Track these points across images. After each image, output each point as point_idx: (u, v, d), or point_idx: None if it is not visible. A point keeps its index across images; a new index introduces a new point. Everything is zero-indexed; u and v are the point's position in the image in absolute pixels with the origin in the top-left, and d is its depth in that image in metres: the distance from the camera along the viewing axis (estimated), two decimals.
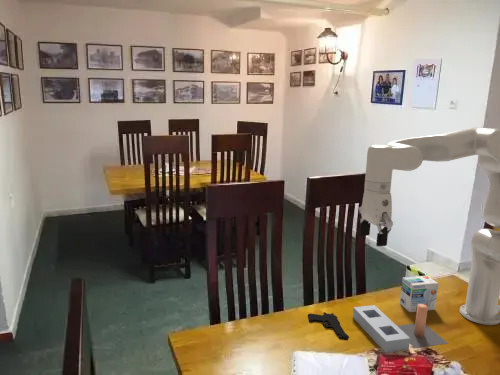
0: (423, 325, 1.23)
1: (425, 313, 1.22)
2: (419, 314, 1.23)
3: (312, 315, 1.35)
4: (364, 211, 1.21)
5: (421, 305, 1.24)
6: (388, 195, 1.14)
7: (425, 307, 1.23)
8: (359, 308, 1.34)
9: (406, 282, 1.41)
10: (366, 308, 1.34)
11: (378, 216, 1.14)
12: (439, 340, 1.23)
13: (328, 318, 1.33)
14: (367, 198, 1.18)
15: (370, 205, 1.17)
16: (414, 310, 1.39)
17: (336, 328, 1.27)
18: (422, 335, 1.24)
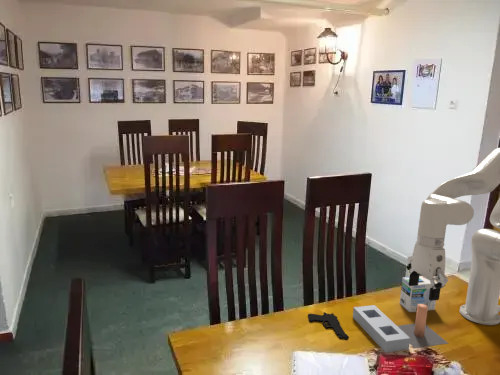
0: (423, 325, 1.23)
1: (425, 313, 1.22)
2: (419, 314, 1.23)
3: (312, 315, 1.35)
4: (415, 263, 1.22)
5: (421, 305, 1.24)
6: (442, 251, 1.15)
7: (425, 307, 1.23)
8: (359, 308, 1.34)
9: (406, 282, 1.41)
10: (366, 308, 1.34)
11: (432, 271, 1.15)
12: (439, 340, 1.23)
13: (328, 318, 1.33)
14: (419, 251, 1.20)
15: (423, 259, 1.18)
16: (414, 310, 1.39)
17: (336, 328, 1.27)
18: (422, 335, 1.24)
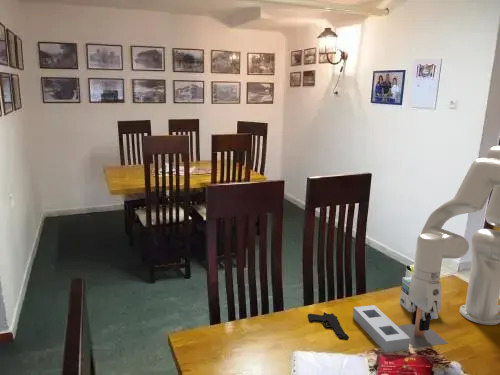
0: None
1: None
2: (419, 314, 1.23)
3: (312, 315, 1.35)
4: (412, 295, 1.25)
5: None
6: (438, 285, 1.17)
7: None
8: (359, 308, 1.34)
9: (406, 282, 1.41)
10: (366, 308, 1.34)
11: (428, 305, 1.18)
12: (439, 340, 1.23)
13: (328, 318, 1.33)
14: (416, 284, 1.22)
15: (419, 292, 1.21)
16: None
17: (336, 328, 1.27)
18: (422, 335, 1.24)
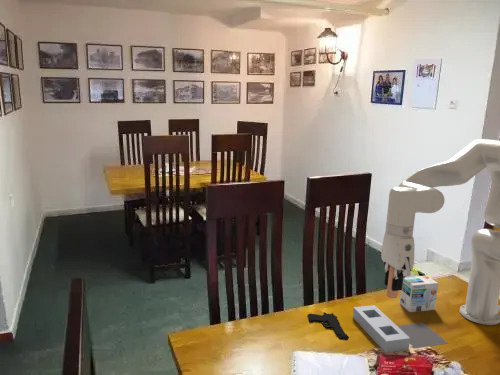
0: None
1: (398, 272, 1.15)
2: (391, 273, 1.16)
3: (312, 315, 1.35)
4: (385, 253, 1.17)
5: None
6: (411, 240, 1.10)
7: None
8: (359, 308, 1.34)
9: (406, 282, 1.41)
10: (366, 308, 1.34)
11: (400, 261, 1.11)
12: (439, 340, 1.23)
13: (328, 318, 1.33)
14: (388, 241, 1.15)
15: (392, 249, 1.14)
16: (414, 310, 1.39)
17: (336, 328, 1.27)
18: (395, 296, 1.17)
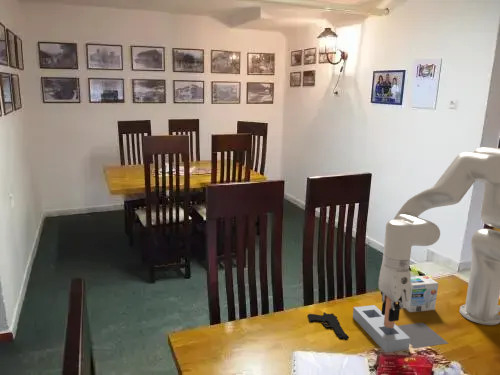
0: None
1: None
2: (388, 304, 1.18)
3: (312, 315, 1.35)
4: (382, 284, 1.20)
5: None
6: (407, 272, 1.12)
7: None
8: (359, 308, 1.34)
9: None
10: (366, 308, 1.34)
11: (397, 293, 1.13)
12: (439, 340, 1.23)
13: (328, 319, 1.33)
14: (385, 272, 1.17)
15: (388, 280, 1.16)
16: (414, 310, 1.39)
17: (336, 328, 1.27)
18: (392, 326, 1.19)
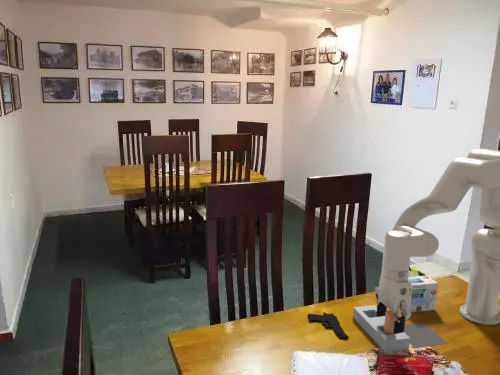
0: (391, 332, 1.20)
1: (393, 320, 1.19)
2: (387, 321, 1.19)
3: (312, 315, 1.35)
4: (381, 294, 1.20)
5: (389, 312, 1.20)
6: (406, 283, 1.13)
7: (393, 314, 1.19)
8: (359, 308, 1.34)
9: None
10: (366, 308, 1.34)
11: (396, 304, 1.14)
12: (439, 340, 1.23)
13: (328, 318, 1.33)
14: (384, 283, 1.18)
15: (387, 291, 1.16)
16: (414, 310, 1.39)
17: (336, 328, 1.27)
18: None
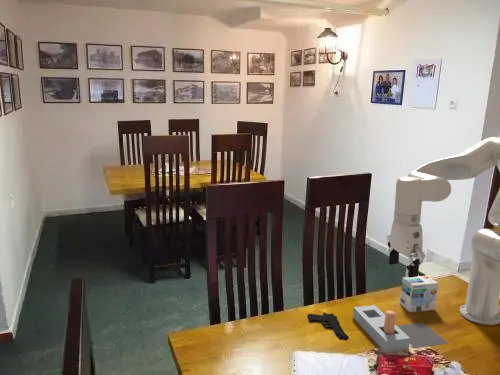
0: (391, 332, 1.20)
1: (393, 320, 1.19)
2: (387, 321, 1.19)
3: (312, 315, 1.35)
4: (393, 241, 1.22)
5: (389, 312, 1.20)
6: (419, 227, 1.15)
7: (393, 314, 1.19)
8: (359, 308, 1.34)
9: (406, 282, 1.41)
10: (366, 308, 1.34)
11: (409, 248, 1.15)
12: (439, 340, 1.23)
13: (328, 318, 1.33)
14: (397, 229, 1.19)
15: (400, 236, 1.18)
16: (414, 310, 1.39)
17: (336, 328, 1.27)
18: None
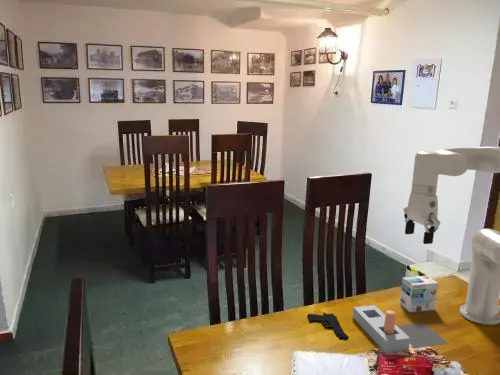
0: (391, 332, 1.20)
1: (393, 320, 1.19)
2: (387, 321, 1.19)
3: (312, 315, 1.35)
4: (410, 212, 1.32)
5: (389, 312, 1.20)
6: (435, 197, 1.25)
7: (393, 314, 1.19)
8: (359, 308, 1.34)
9: (406, 282, 1.41)
10: (366, 308, 1.34)
11: (425, 216, 1.25)
12: (439, 340, 1.23)
13: (328, 319, 1.33)
14: (414, 200, 1.30)
15: (417, 206, 1.28)
16: (414, 310, 1.39)
17: (336, 328, 1.27)
18: None
